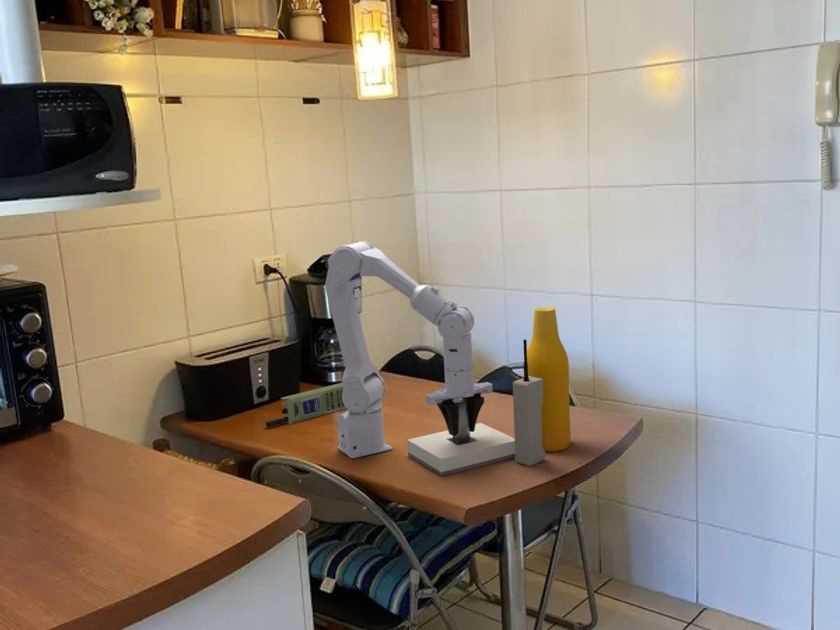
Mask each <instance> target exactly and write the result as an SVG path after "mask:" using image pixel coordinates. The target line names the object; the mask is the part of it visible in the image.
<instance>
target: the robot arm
mask: <svg viewBox="0 0 840 630" xmlns="http://www.w3.org/2000/svg"><path fill="white" fill-rule="evenodd" d="M327 264H328V269H327V270H328V271H327V274H326V279H325V284H324V285H325V286H324V288H325V293H326V297H327V301H328V305H329V309H330V312H331V313H330V314H331V316H332V320H333V324H334V328H335V332H336V336H337V340H338V343H339V344H338V345H339V348H340V351H341V352H340V353H341V357H342V361H343V364H344V368H345V369H344V372H343V375H342V378H341V383H342V384H343V393H342V400H343V403H344V405H345V407H346V408H347V409H346V411H345V412H342V413H339V414H338V415H337V419H336V429H337V439H338V441H337V442H338V446H337V450H339V451H341V453H343V454H345V455H347V456H348V457H349V458H350V459H356V458H361V457H365V456H369V455H374V454H378V453H383V452H387V451H391V450H393V447H392V446H391V445H390V444H388V443H386V442H385V430H384V429H385V428H384V415H383V414H384V413H383V403H382V399H383V397H384V396H385V394H386V389H387V387H386V383H385V380H384V379H383V377H382V376H381V375H380V373H379V370H378V368H377V366H376V365H375V364H374V363H373V362H372V361H371V360H370V359H371V358H370V355H369V351H368V347H367V343H366V340H365V336H364V331H363V327H362V324H361V323H362V322H361V319H360V314H359V311H358V307H357V303H356V300H355V296H354V291H353V289H354V288H355V286H356V285H357V283H358V281H359V280H360V279H361V277H378V278H379V279H381V280H382V281H384V282H386V283H387V284H388V285H390V286H391V287H393V289H395V290H397V291H398V292H399V293H401V294H403V296H406V297H407V298H408V299H409V304H410V308H412V309H413V310H414V311H416V312H417V313H419V314H420V315H421V316H422V317H423V318H425V319H426V320H427V321H429V322H430V323H431V324H433V325H435V327H437V330H438V331H437V332H438V333H439V334H440V336H441V337H442V339H443V340H442V341H443V349H442V350H443V365H444V384H445V385H444V386H445V388H442V389H439V390H437V391H434V392H431V393H427V394H425V397H426V400H425V401H426V405H429V406H431V407H432V406H437V408H438V409H439V411H440V413H441V414H442V415H441V416H443V420H444V422H445V424H446V427H447V430H448V431H449V434H450V435H452V436H457V413H458V408H459V406H458V405H456V404H455V403H454V402H453V400H458V399H464V400H468V407H469V423H470V431H471V432H474V431H475V425H476V424H477V420H478V417H479V413H480V411H481V409H482V407H483V406H484V404H485V397H484V396H483V395H484V394H488V395H489V394H493V383H490V382H488V381H486V382H485V381H484V382H478V383H474V366H473V365H474V363H473V362H474V361H473V345H472V333H471V331H472V330H473V328H474V325H475V318H474V315H473V314H472V311H470V309H468V307H467V306H462V305H458V302H456V301H451V300H450V299H448V298H447V297H446V296H444V295H443V294H442V293H441V292H439V290H440V289H439V288H438V287H437V286H436V285H432V286H431V285H430V284H424V285H422V284H421V285H420V284H419V283H418V282H416V280H414V279H413V278H412V277H411V276H410V275H408V274H407V273H406V272H405V271H404V270H402V269H401V268H400V267H399V266H398V265H396V264H395V263H394V262H393V261H392V260H391V259H390V258H388V257H387V256H386V255H385V253H384V252H382V250H380V248H377V247H375V246H373V244H372V243H370V242H369V241H366V240H360V241H359V240H358V241H357V242H354V243H351V244H347V245H340V246H338V247H337V248H336V249H334V251H333V252H332V253H331V255H330V256H329V257H328V258H327Z"/></svg>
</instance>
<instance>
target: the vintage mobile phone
mask: <svg viewBox="0 0 840 630" xmlns="http://www.w3.org/2000/svg"><path fill="white" fill-rule="evenodd" d="M522 340H523V377H522V378H519V379H517V380H514V381H513V382H512V397H513V398H512V399H513V400H512V401H513V425H514V426H513V427H514V433H513V435H514V438H515V458H514V460H515V462H516V463H518V464H521V465H525V466H528V467H531V466H534V465H536V464H538V463H541V462H542V461H545V459H546V452H544V449H543V447H542V420H541V408H542V404H543V379H541V378H536V377H531V376H528V363H527V349H528V346H527V345H528V343H527V339H522Z"/></svg>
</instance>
